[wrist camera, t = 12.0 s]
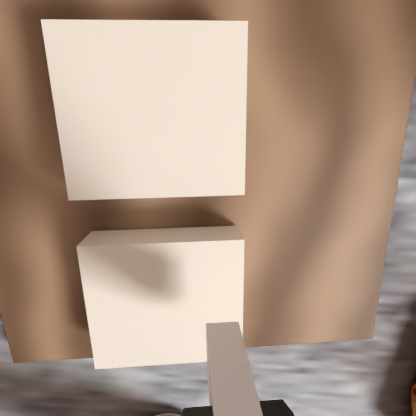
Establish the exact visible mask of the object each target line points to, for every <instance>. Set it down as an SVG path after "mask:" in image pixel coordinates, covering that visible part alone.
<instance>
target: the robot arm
mask: <svg viewBox="0 0 416 416" xmlns="http://www.w3.org/2000/svg"><path fill="white" fill-rule="evenodd" d="M206 345H207V376H208V389H209V402H210V406H204V407H192V408H184V409H183V412H182V414H181V416H294V414H293V412H292V411H291V410H290V408H289V407H288V406H287V405H286V403H285V402H284V401H283V400H269V401H259V399H258V395H257V391H256V387H255V383H254V379H253V376H252V372H251V368H250V364H249V360H248V356H247V353H246V349H245V345H244V341H243V337H242V334H241V330H240V326H239V322H238V321H237V322H221V323H206Z"/></svg>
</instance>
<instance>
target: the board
mask: <svg viewBox="0 0 416 416" xmlns="http://www.w3.org/2000/svg"><path fill="white" fill-rule="evenodd" d="M41 19H64V20H207V21H248V52H247V105H246V159H245V195H232V196H199V197H167V198H135V199H102V200H70V201H69V200H68V194H67V187H66V181H65V174H64V168H63V161H62V155H61V148H60V142H59V135H58V129H57V122H56V116H55V109H54V103H53V96H52V90H51V83H50V77H49V70H48V64H47V57H46V51H45V44H44V38H43V31H42V25H41ZM415 73H416V0H0V312H1V316H2V319H3V323H4V327H5V331H6V335H7V339H8V343H9V347H10V351H11V355H12V359H13V363H20V362H35V361H49V360H64V359H79V358H93V352H92V345H91V339H90V332H89V326H88V319H87V313H86V306H85V300H84V293H83V287H82V280H81V274H80V268H79V261H78V255H77V248H76V246H77V245H78V244H79V243H80V242H81V241H82V240H83V239H84V238H85V237H86V236H87V235H88V234H89V233H90V232H91V231H108V230H134V229H160V228H186V227H212V226H238V228H239V230H240V232H241V234H242V236H243V238H244V240H245V241H244V296H243V341H244V345H245V347H258V346H273V345H288V344H303V343H317V342H332V341H347V340H362V339H372V338H373V331H374V325H375V319H376V313H377V307H378V301H379V294H380V288H381V282H382V276H383V270H384V264H385V257H386V251H387V245H388V239H389V233H390V227H391V221H392V214H393V208H394V202H395V196H396V190H397V184H398V177H399V171H400V165H401V159H402V153H403V147H404V140H405V134H406V128H407V122H408V116H409V110H410V103H411V97H412V91H413V85H414V79H415Z"/></svg>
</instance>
